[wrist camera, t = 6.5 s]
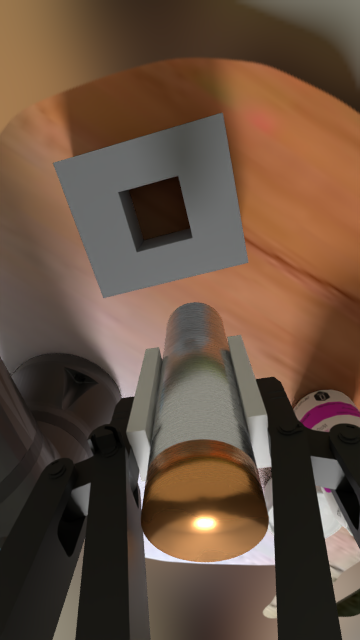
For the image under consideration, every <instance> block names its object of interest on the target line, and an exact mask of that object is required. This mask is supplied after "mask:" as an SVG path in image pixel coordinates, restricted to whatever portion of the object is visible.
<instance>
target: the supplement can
mask: <svg viewBox="0 0 360 640" xmlns="http://www.w3.org/2000/svg"><path fill="white" fill-rule="evenodd" d="M294 413H295V415H296V417H297V419H298V420H299V421H300V422H301V423H302V424H304V426H305V427H307V428H310V429H312V430H317V431H324V432H329V431H330V429H331V428H332V427H333V426H334V425H337V424H340V423H348V424H353V425H356V426H358V427H360V411H359V410H358V408H357V407H356V406H355V404H354V403H353V402H352V400H351V399H350V398H349V397H348V396H346V395H345V394H344V393H342V392H339V391H335V390H320V391H316V392H313V393H310V394H308V395H307V396H305V397H304V398H302V399H301V400H300V401H299V402H298V404H297V405H296V406H295V408H294ZM321 489H322V491H323V494H324V496H325V498H326V500H327V503H328V505H329V507H330V509H331V512H332V514H333V515H334V517H335V518H336V520H337V521H338V522H339V523H340V524H341V525H342V526H343V527H345V528H346V529H347V530H348V531H349V533H350V534H351V535H352V536H353V534H352V532H351V530H350V528H349V526H348V524H347V522H346V520H345V518H344V516H343V514H342V512H341V510H340V508H339V506H338V504H337V502H336V500H335V498H334V496H333V494H332V492H331V490H330V488H324V487H321Z"/></svg>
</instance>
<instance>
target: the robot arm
mask: <svg viewBox="0 0 360 640" xmlns="http://www.w3.org/2000/svg"><path fill="white" fill-rule="evenodd" d="M227 338H228V345H229V352H230V357H231V361H232V365H233V369H234V374H235V378H236V382H237V386H238V391H239V395H240V399H241V403H242V408H243V412H244V416H245V420H246V425H247V429H248V433H249V437H250V440H251V443H252V448H253V452H254V456H255V460H256V465H257V468H265V467H271V468H272V494H273V520H274V546H275V571H276V597H277V623H278V640H342V636H341V630H340V624H339V619H338V613H337V607H336V601H335V595H334V590H333V584H332V578H331V572H330V566H329V561H328V555H327V549H326V543H325V537H324V532H323V526H322V520H321V514H320V508H319V503H318V497H317V491H316V486H319V487H324V488H330V490H331V492H332V494H333V496H334V498H335V500H336V502H337V504H338V506H339V508H340V510H341V512H342V514H343V516H344V518H345V520H346V522H347V524H348V526H349V528H350V530H351V532H352V534H353V536H354V538H355V540H356V542H357V544H358V546H359V548H360V427H358V426H356V425H353V424H348V423H340V424H337V425H334V426H333V427H332V428H331V429H330V431H329V432H324V431H317V430H312V429H310V428H307V427H305V426H304V424H302V423H301V422H300V421H299V420H298V419H297V417H296V415H295V413H294V410H293V408H292V406H291V404H290V401H289V399H288V397H287V395H286V393H285V391H284V388H283V386H282V384H281V382H280V381H278V380H277V379H276V378H275V377H269V378H261V379H255V376H254V373H253V370H252V367H251V364H250V361H249V358H248V355H247V352H246V349H245V346H244V343H243V340H242V337H241V335H237V336H230V337H227ZM161 367H162V358H161V354H160V350H159V347H157V348H151V349H146V351H145V356H144V360H143V364H142V368H141V372H140V376H139V381H138V385H137V389H136V393H135V397H127V398H122V399H121V395H120V392H119V390H118V388H117V386H116V384H115V383H114V381H113V380H112V379H111V377H110V376H109V375H108V374H107V373H106V372H105V371H104V370H102V369H101V368H100V367H98V366H97V365H95V364H94V363H92V362H90V361H88V360H86V359H83V358H80V357H77V356H74V355H69V354H58V353H55V354H45V355H41V356H37V357H34V358H32V359H30V360H28V361H26V362H25V363H23V364H22V365H21V366H20V367H19V368H18V369H17V370H16V371H15V372H14V373H13V375H12V376H11V375H10V374H9V372H8V370H7V368H6V366H5V365H4V363H3V361H2V359H1V357H0V640H52V639H53V636H54V633H55V630H56V627H57V624H58V620H59V617H60V614H61V611H62V608H63V605H64V602H65V598H66V595H67V592H68V589H69V586H70V583H71V580H72V577H73V573H74V570H75V567H76V564H77V561H78V558H79V555H80V552H81V549H82V545H83V542H84V539H85V546H84V556H83V566H82V578H81V587H80V597H79V607H78V618H77V628H76V639H75V640H150V626H149V611H148V597H147V582H146V568H145V554H144V539H143V530H142V527H141V513H142V511H141V496H140V489H139V486H138V477H139V474H140V477H141V480H142V481H146V476H147V469H148V462H149V454H150V447H151V440H152V433H153V425H154V418H155V411H156V404H157V396H158V389H159V382H160V374H161Z"/></svg>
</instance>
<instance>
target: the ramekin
mask: <svg viewBox="0 0 360 640" xmlns="http://www.w3.org/2000/svg"><path fill="white" fill-rule="evenodd" d="M316 491H317V497H318V503H319V508H320V514H321V520H322V526H323V532H324V537H325V538H327V537H329V536H331V535H333V534H334V533H336V532H337V531H338V530H339V529H340V528H341V527H342V525H341V524H340V523H339V522H338V521H337V520H336V518H335V517H334V515H333V514H332V512H331V509H330V507H329V505H328V503H327V500H326V498H325V496H324V494H323V491H322V489H321V487H319V486H316ZM264 498H265V502H266V507H267V511H268V516H269V525H268V530H269V531H270V532H271V533H272V534H273V535H274V520H273V494H272V477H271V478H270V480H269V481H268V483H267V484H266V487H265V491H264Z"/></svg>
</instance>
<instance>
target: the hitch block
mask: <svg viewBox="0 0 360 640" xmlns="http://www.w3.org/2000/svg"><path fill="white" fill-rule="evenodd" d="M53 165H54V167H55V170H56V173H57V175H58V178H59V181H60V183H61V186H62V189H63V191H64V194H65V197H66V199H67V202H68V205H69V207H70V210H71V213H72V215H73V218H74V221H75V223H76V226H77V229H78V231H79V234H80V237H81V239H82V242H83V245H84V247H85V250H86V253H87V255H88V258H89V261H90V263H91V266H92V269H93V271H94V274H95V277H96V279H97V282H98V285H99V287H100V290H101V293H102V295H103V298H106V297H110V296H114V295H118V294H122V293H126V292H130V291H134V290H139V289H143V288H147V287H151V286H155V285H159V284H163V283H167V282H171V281H175V280H179V279H183V278H187V277H192V276H196V275H200V274H204V273H208V272H212V271H216V270H220V269H224V268H228V267H232V266H236V265H240V264H245V263H248V257H247V252H246V246H245V240H244V234H243V228H242V222H241V217H240V211H239V205H238V199H237V193H236V187H235V181H234V176H233V170H232V164H231V158H230V152H229V146H228V140H227V135H226V129H225V123H224V117H223V113H220V114H216V115H213V116H209V117H206V118H203V119H199V120H196V121H193V122H189V123H186V124H183V125H179V126H176V127H172V128H169V129H166V130H162V131H159V132H156V133H152V134H149V135H146V136H142V137H139V138H135V139H132V140H129V141H125V142H122V143H119V144H115V145H112V146H109V147H105V148H102V149H98V150H95V151H92V152H88V153H85V154H82V155H78V156H75V157H72V158H68V159H65V160H61V161H58V162H55V163H53ZM176 176H178V177H179V181H180V186H181V190H182V194H183V198H184V203H185V207H186V211H187V215H188V220H189V224H190V228H189V229H185V230H182V231H178V232H174V233H170V234H166V235H162V236H159V237H155V238H151V239H147V240H144V239H143V236H142V232H141V229H140V226H139V222H138V219H137V216H136V212H135V209H134V205H133V202H132V199H131V195H130V192H129V190H130V189H133V188H137V187H140V186H144V185H147V184H151V183H154V182H158V181H162V180H165V179H169V178H172V177H176Z"/></svg>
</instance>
